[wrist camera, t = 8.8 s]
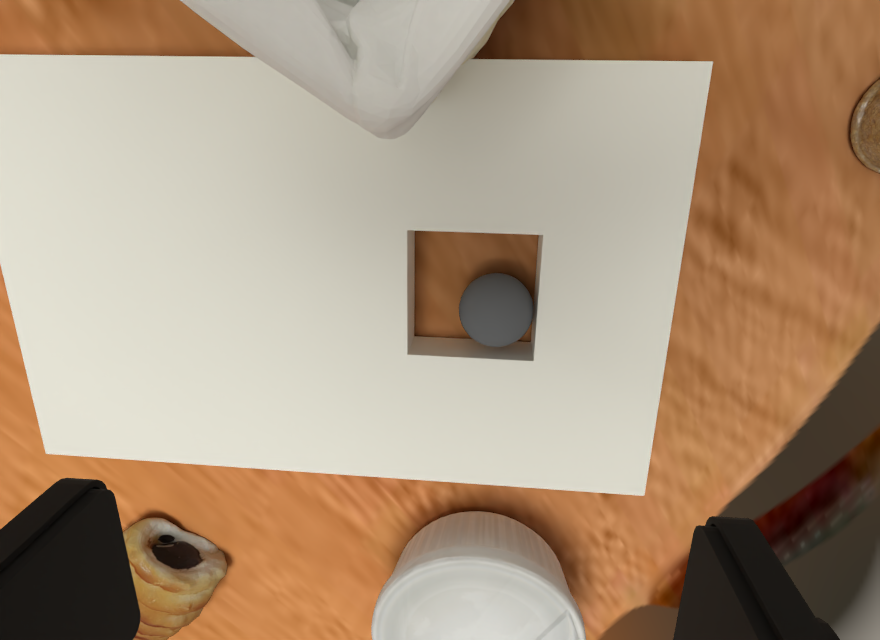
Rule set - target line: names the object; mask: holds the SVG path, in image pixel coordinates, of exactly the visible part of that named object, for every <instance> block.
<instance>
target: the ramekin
mask: <svg viewBox="0 0 880 640" xmlns="http://www.w3.org/2000/svg"><path fill="white" fill-rule="evenodd" d="M372 640H586V634H585V628H584V622H583V619H582V615H581V613H580V610H579V608H578V605H577V603H576V602H575V600H574V598H573V597H572V595H571V594H570V591H569V588H568V585H567V582H566V580H565V577H564V574H563V571H562V568H561V565H560V563H559V561H558V559H557V557H556V555H555V553H554V552H553V551H552V550H551V548H550V546H549V545H548V544H547V543H546V542H545V541H544V540H543V538H542V537H540V536H539V535H538V534H536V533H535V532H534V531H533V530H532V529H530V528H528V527H527V526H525V525H524V524H522V523H520V522H518V521H516V520H515V519H512V518H509V517H507V516H504V515H500V514H496V513H491V512H482V511H469V512H460V513H456V514H450V515H448V516H445V517H441V518H439V519H437V520H435V521H433V522H431V523H430V524H429V525H427V526H425V527H423V528H422V529H421V530H420V531H419V532H418V533H417V534H415V535H414V537H413V538H412V539H411V540H410V541H409V542H408V544H407V545H406V547H405V548H404V550H403V552H402V554H401V556H400V558H399V561H398V563H397V565H396V567H395V569H394V571H393V573H392V576H391V577H390V578H389V579H388V580H387V582H386V583H385V585H384V586H383V588H382V590H381V592H380V594H379V597H378V599H377V602H376V606H375V609H374V613H373V619H372Z"/></svg>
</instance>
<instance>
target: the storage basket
mask: <svg viewBox="0 0 880 640" xmlns="http://www.w3.org/2000/svg"><path fill="white" fill-rule="evenodd" d="M180 1H182V2H183V3H184V4H185V5H187V6H188V7H189V8H190V9H192V10H193V11H194V12H195V13H197V14H198V15H199V16H201V17H202V18H203V19H205V20H206V21H207V22H209V23H210V24H211V25H213V26H214V27H215V28H217V29H218V30H219V31H221V32H222V33H223V34H225V35H226V36H227V37H229V38H230V39H231V40H233V41H234V42H235V43H237V44H238V45H239V46H241V47H242V48H243V49H245V50H246V51H248V52H249V53H251V54H252V55H254V56H255V57H257V58H258V59H260V60H261V61H263V62H264V63H266V64H267V65H269V66H270V67H272V68H273V69H275V70H276V71H278V72H279V73H281V74H282V75H284V76H285V77H287V78H288V79H290V80H291V81H293V82H294V83H296V84H297V85H299V86H300V87H302V88H303V89H305V90H306V91H307V92H309V93H310V94H312V95H313V96H315V97H316V98H318V99H319V100H321V101H322V102H324V103H325V104H327V105H328V106H330V107H331V108H332V109H334V110H335V111H337V112H338V113H340V114H341V115H343V116H344V117H346V118H347V119H349V120H350V121H352V122H354V123H356V124H358V125H359V126H361V127H362V128H363V129H364V130H366V131H369V132H370V133H371V134H373V135H375V136H376V137H378V138H382V139H396V138H398V137H400V136H402V135H404V134H406V133H407V132H408V131H409V130H410V129H411V128H412V127H413V126H414V124H415V123H416V122H417V121H418V120H419V119H420V117H421V116H422V115H423V114H424V113H425V111H426V110H427V109H428V107H429V106H430V105H431V104H432V103H433V102H434V101H435V99H436V98H437V96H438V94H439V93H440V92H441V91H442V89H443V88H444V86H445V85H446V84H447V82H448V81H449V80H450V78H451V77H452V76H453V75H454V73H455V72H456V70H457V69H458V68H459V67H460V66H461V65H462V64H464V63H465V62H466V61H468V60H469V59H473V58H474V57H475V56H476V54H477V53H478V52H479V50H480V49H481V48H482V47H483V46H484V45H485V44H486V42H487V41H488V39H489V37H490V35H491V33H492V31H493V29H494V27H495V25H496V23H497V21H498V20H499V19H500V18H501V16H502V15H503V14H504V13H505V12H506V11H507V9H508V8H509V7H510V6H511V5H512V4H513V2H514V1H515V0H180Z"/></svg>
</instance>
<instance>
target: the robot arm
mask: <svg viewBox="0 0 880 640" xmlns="http://www.w3.org/2000/svg"><path fill="white" fill-rule="evenodd" d="M140 618H141V615H140V609H139V604H138V599H137V595H136V590H135V586H134V581H133V577H132V572H131V568H130V563H129V559H128V554H127V549H126V545H125V540H124V536H123V531H122V527H121V522H120V518H119V513H118V509H117V504H116V500H115V496H114V494H113V492H112V491H111V490H107V488H106V485H105V484H104V483H103V482H102V481H99V480H92V479H75V478H65V479H61V480H59V481H57V482H56V483H55V484H53V485H52V486H51V487H50V488H49V489H47V490H46V491H45V492H44V493H43V494H42V495H40V496H39V497H38V498H37V499H36V500H35V501H33V502H32V503H31V504H30V505H29V506H28V507H26V508H25V509H24V510H23V511H22V512H20V513H19V514H18V515H17V516H16V517H15V518H13V519H12V520H11V521H10V522H9V523H8V524H6V525H5V526H4V527H3V528H2V529H0V640H133V639H134V637H135V636H136V634H137V631H138V629H139V625H140ZM673 640H840V639H839V638H838V636H837V635H836V633H835V632H834V631H833V630H832V628H831V627H830V626H829V625H828V623H826V622H825V621H823V620H822V619H820V618H815V616H814V615H813V613H812V611H811V610H810V608H809V607H808V605H807V603H806V602H805V600H804V599H803V597H802V596H801V594H800V592H799V591H798V589H797V588H796V587H795V585H794V583H793V581H792V580H791V578H790V577H789V575H788V574H787V572H786V570H785V569H784V567H783V566H782V564H781V563H780V561H779V559H778V558H777V556H776V555H775V553H774V552H773V550H772V548H771V547H770V545H769V544H768V542H767V541H766V539H765V537H764V536H763V534H762V533H761V531H760V530H759V528H758V526H757V525H756V524H755V523H754V521H753V520H751V519H748V518H730V517H714V516H712V517H709V519H708V520H707V522H706V525H705V526H696V528H695V530H694V533H693V539H692V544H691V549H690V554H689V560H688V565H687V570H686V575H685V581H684V586H683V591H682V596H681V602H680V607H679V612H678V617H677V623H676V628H675V633H674V639H673Z"/></svg>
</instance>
